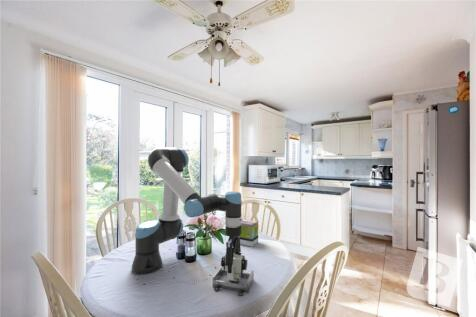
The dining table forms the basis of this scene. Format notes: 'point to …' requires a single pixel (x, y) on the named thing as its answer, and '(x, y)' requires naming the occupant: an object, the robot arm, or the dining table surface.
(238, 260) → the pneumatic valve
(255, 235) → the tea box
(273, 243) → the dining table surface
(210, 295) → the dining table surface
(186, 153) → the robot arm
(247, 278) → the wheeled cart
